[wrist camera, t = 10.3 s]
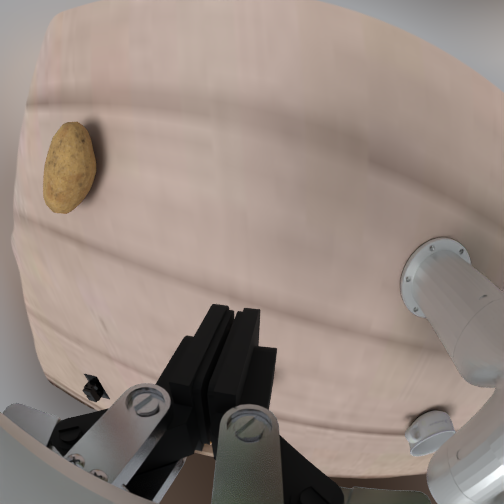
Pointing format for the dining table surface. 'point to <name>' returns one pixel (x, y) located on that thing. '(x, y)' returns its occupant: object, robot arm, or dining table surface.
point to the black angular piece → (94, 389)
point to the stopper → (206, 450)
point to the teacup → (429, 432)
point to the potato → (68, 168)
